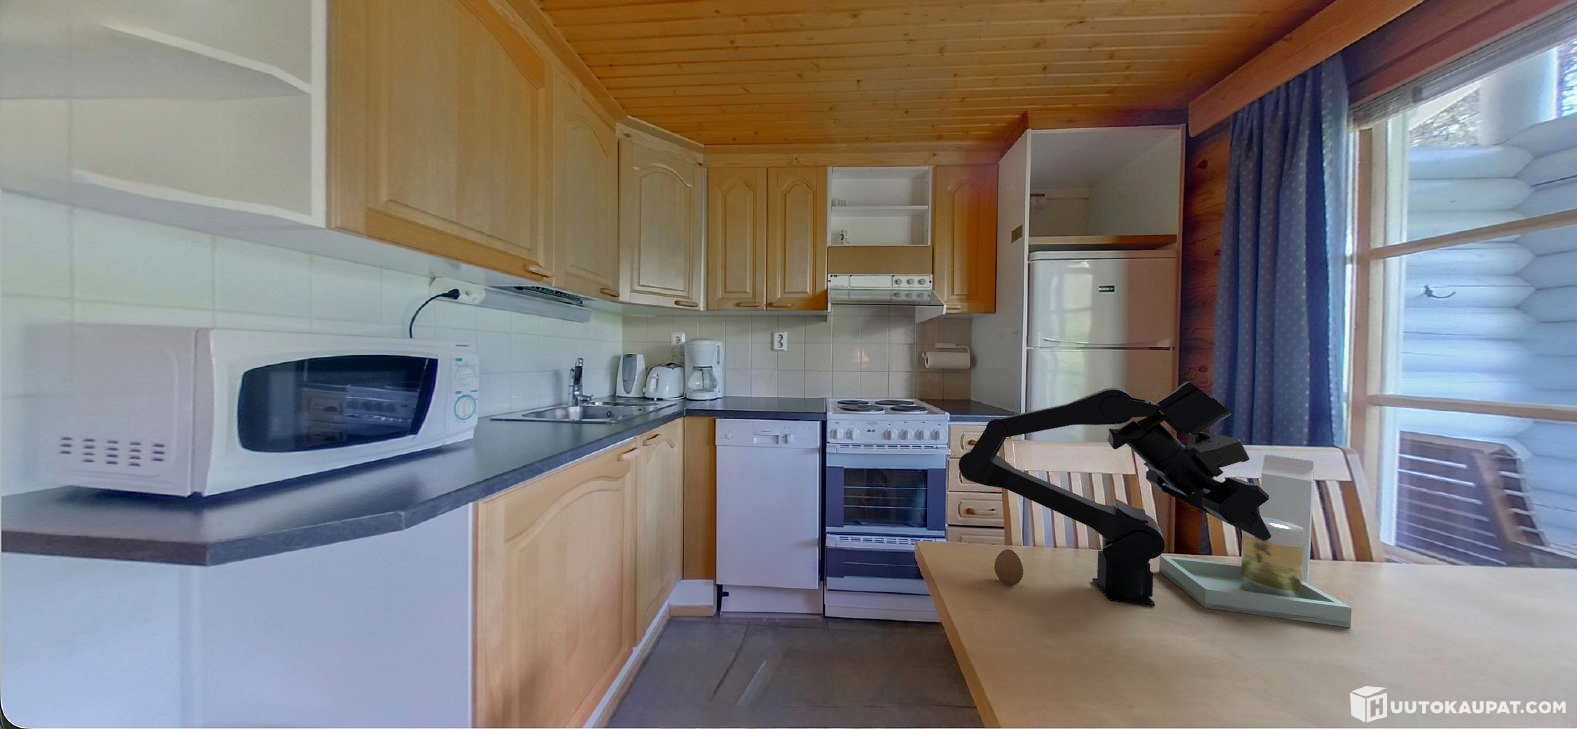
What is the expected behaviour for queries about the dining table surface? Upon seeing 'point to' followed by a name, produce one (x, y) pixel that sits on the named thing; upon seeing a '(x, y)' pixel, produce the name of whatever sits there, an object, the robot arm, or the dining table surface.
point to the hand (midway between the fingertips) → (1242, 526)
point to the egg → (1008, 567)
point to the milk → (1290, 496)
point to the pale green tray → (1250, 593)
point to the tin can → (1273, 560)
